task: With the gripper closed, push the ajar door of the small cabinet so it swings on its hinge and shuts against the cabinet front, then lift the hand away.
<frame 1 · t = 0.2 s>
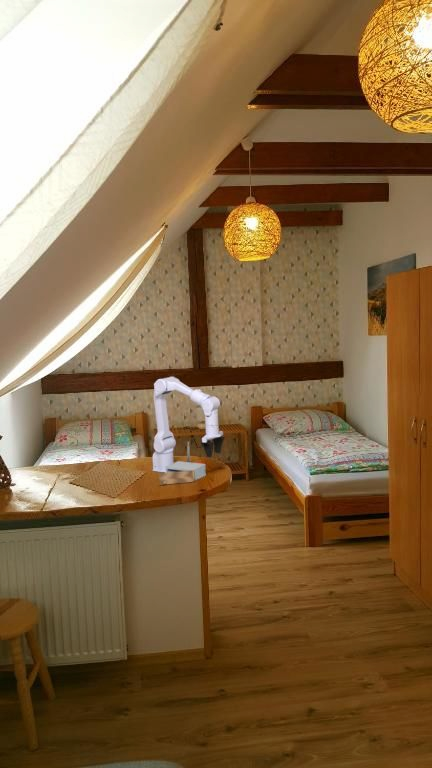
hand: (213, 454, 251), 10 cm above the worktop, tool pointing down, fingers open, 7 cm apart
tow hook: (195, 467, 271), on the worktop
cabinet: (186, 476, 255), on the worktop
door: (177, 477, 245), point 3 cm above the worktop, hinge at 40.0°
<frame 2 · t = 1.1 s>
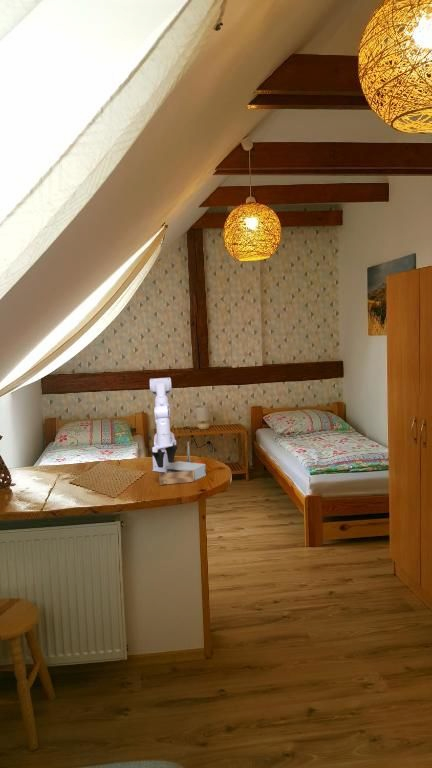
hand: (165, 464, 240), 10 cm above the worktop, tool pointing down, fingers open, 7 cm apart
nothing on the worktop moved.
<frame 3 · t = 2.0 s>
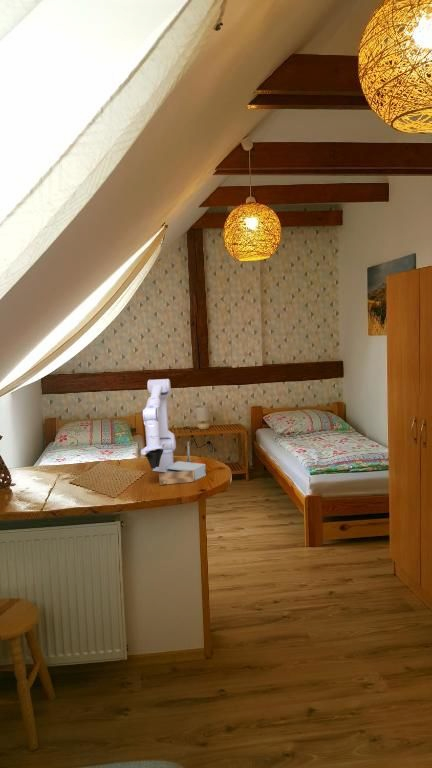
hand: (155, 467, 238), 9 cm above the worktop, tool pointing down, fingers closed
nothing on the worktop moved.
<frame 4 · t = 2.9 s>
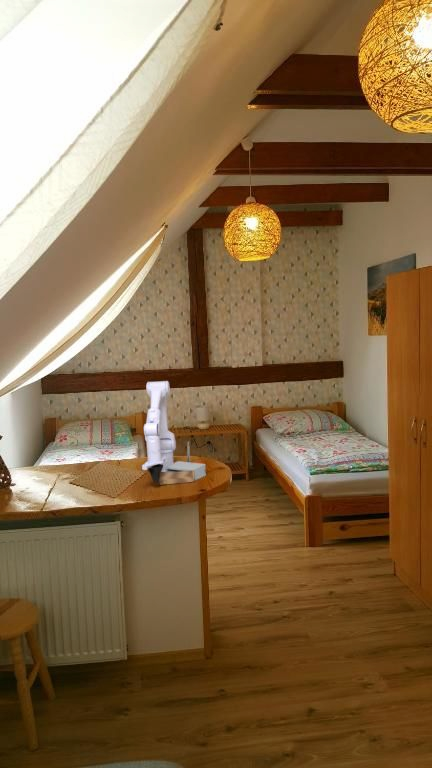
hand: (156, 482, 239), 3 cm above the worktop, tool pointing down, fingers closed
nothing on the worktop moved.
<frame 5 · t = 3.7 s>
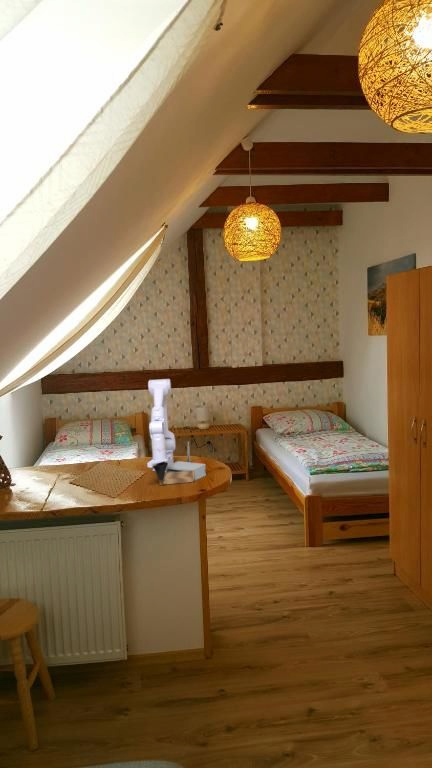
hand: (161, 479, 242), 3 cm above the worktop, tool pointing down, fingers closed
door: (177, 477, 245), point 3 cm above the worktop, hinge at 39.8°, touching gripper
everything else where it was.
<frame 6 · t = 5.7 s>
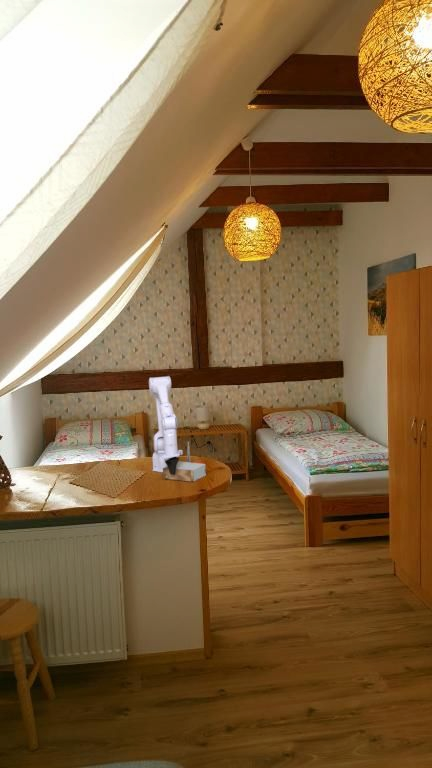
hand: (172, 474, 249), 3 cm above the worktop, tool pointing down, fingers closed
door: (177, 474, 249), point 3 cm above the worktop, hinge at 2.9°, touching gripper
everything else where it was.
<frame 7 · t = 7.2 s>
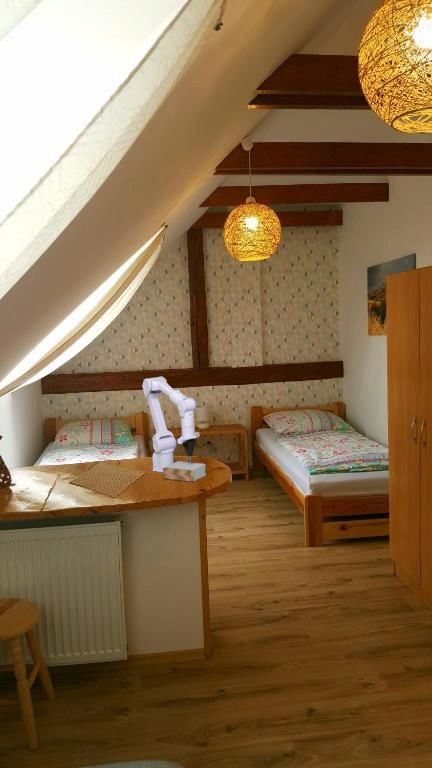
hand: (189, 456, 252), 10 cm above the worktop, tool pointing down, fingers closed
door: (177, 474, 249), point 3 cm above the worktop, hinge at 2.9°
everything else where it was.
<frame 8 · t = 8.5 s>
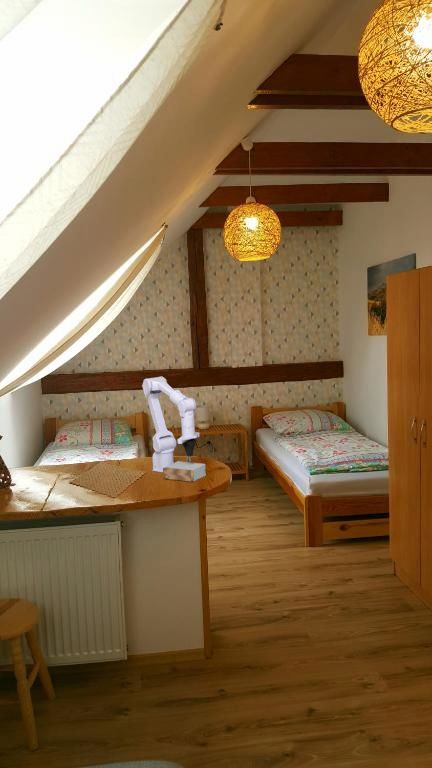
hand: (189, 456, 252), 10 cm above the worktop, tool pointing down, fingers closed
nothing on the worktop moved.
at the end: door at +3° (first picture: +40°) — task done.
